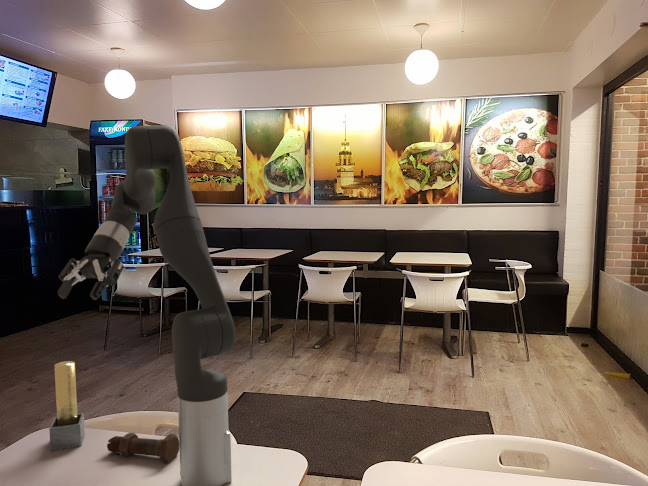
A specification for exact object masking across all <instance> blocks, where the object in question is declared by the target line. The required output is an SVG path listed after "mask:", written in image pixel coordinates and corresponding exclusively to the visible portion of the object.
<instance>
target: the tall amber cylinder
mask: <svg viewBox="0 0 648 486" xmlns="http://www.w3.org/2000/svg"><path fill="white" fill-rule="evenodd" d="M53 365H54V383H55V398H56V399H55V401H56V417H57V422H58V427H59V426H66V425H73V424H78V416H77V414H78V400H77V397H78V396H77V380H76V379H77V378H76V376H77V375H76V362H75V361H73V360H68V361H67V360H65V361H60V362H57V363H55V364H53Z"/></svg>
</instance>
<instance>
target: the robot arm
mask: <svg viewBox="0 0 648 486" xmlns="http://www.w3.org/2000/svg"><path fill="white" fill-rule="evenodd" d="M124 157H125V158H124V162H125V163H124V164H125V178H124V180H122V181H120V182H119V183H118V184H117V185H116V187H115V189H114V193H113V197H112V198H113V199H112V204H111V207H110V210H109V212H108V213H107V215H106V217H105V218H104V221H103V222H102V224H101V225H99V227H98V229H97V230H96V232H94V235H93V236H92V238H91V240H90V241H89V243H88V244H87V246H86V248H85V250H84V257H82V258H81V259H80V260H76V259H75V258H74V257H73V258H70V259H69V260H68V262H67V263H66V265H65V266H64V268H63V269H62V270H61V271H60V273H59V274H58V276H57V277H58V278H59V279H60V280H61V282H62V284H61V285H60V287H59V289H58V290H57V295H58V296H59V297H60V298H61V299H63V300H64V299H67V297H68V296H69V295H70V292H71V290H72V289H73V287H74V285H77V283H78V282H82V281H84V280H86V279H97V280H98V281H96V282H95V284H94V285H93V287H92V289H91V291H90V293H89V296H90V298H91V299H92V301H97V300H98V299H99V298H100V297H101V296H102V294H103V292H104V291H105V289H106V288H108V287H109V285H111V286H115V285H116V284H117V283H118V281H119V278H120V276H121V274H122V272H123V270H124V267H125V265H124V264H123V262H122V261H121V259H119V258H120V256H121V254H122V252H123V250H124V249H125V247H126V245H127V243H128V241H129V238H130V235H131V233H132V232H133V230H134V228H135V226H136V224H137V221H138V218H137V216H136V213H137V214H139V215H146V214H149V213H150V212H151V211H152V210H153V209H154V207H155V205H156V200H157V199H156V198H157V197H156V196H157V195H156V192H155V186H156V180H157V179H156V178H157V177H156V172H154V170H157V169H158V170H159V169H167V170H168V171H169V181H168V185H167V187H166V191H165V193H164V195H163V198H162V200H161V201H160V204H159V206H158V208H157V210H156V213H155V216H154V221H153V227H154V234H155V236H156V240H157V245H158V247H159V248H158V249H159V250H160V251H159V252H160V254H161V256H162V257H163V259H164V260H165V261H166V263H167V264H168V265H169V266H170V267H171V268H172V270H175V272H176V273H177V274H178V275H180V277H182V279H183V280H185V282H187V284H188V285H189V286H190V288H192V289H193V291H194V293H195V295H196V297H197V299H198V301H199V304H200V306H201V308H199V309H192V310H187V311H181V312H179V313H177V314H176V315H175V316H174V319H173V321H172V326H171V340H172V341H171V343H172V351H173V362H174V376H175V381H176V387H177V411H178V412H177V414H178V439H179V469H180V470H179V476H180V485H181V486H224V485H226V484H228V483H232V480H233V479H232V448H231V447H232V446H231V445H232V444H231V442H232V440H231V437H232V436H231V432H230V429H229V405H228V403H229V402H228V400H229V398H228V379H227V376H226V375H225V374H224V373H223V372H220V371H217V370H212V369H206V368H204V369H203V368H202V364H201V360H202V359H207V358H212V357H215V356H221V355H222V354H223V355H224V354H226V353H229V352H231V351H232V350H233V349H234V347H235V345H236V344H235V343H236V328H235V323H234V319H233V317H232V314H231V310H230V308H229V306H228V303H227V300H226V298H225V295H224V292H223V290H222V288H221V285H220V282H219V279H218V277H217V274H216V271H215V268H214V264H213V261H212V258H211V255H210V250H209V248H208V243H207V239H206V235H205V232H204V227H203V224H202V221H201V217H200V215H199V212H198V209H197V205H196V202H195V199H194V195H193V192H192V189H191V184H190V180H189V176H188V171H187V166H186V161H185V155H184V152H183V147H182V143H181V138H180V136H179V134H178V131H177V130H176V128H175V127H173V126H171V125H168V124H167V125H166V124H161V125H160V124H157V125H156V124H155V125H135V126H131V127H130V128H128V129H127V131H126V133H125V137H124ZM134 212H135V213H134ZM79 272H80V274H81V275H80V274H79Z"/></svg>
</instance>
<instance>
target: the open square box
mask: <svg viewBox="0 0 648 486" xmlns="http://www.w3.org/2000/svg"><path fill="white" fill-rule="evenodd" d="M77 416H78V424H73V425H66V426H59V427H58V422H57V416H55V417H53V419H52V422H51V424H50V426H49V429H48V431H49V445H50V446H49V447H50V452H51V451H58V450H64V449H70V448H71V449H72V448H77V447H82V445H83V441H84V438H85V435H86V433H85V432H86V431H85V413H84V412H81V413H77Z"/></svg>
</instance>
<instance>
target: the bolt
mask: <svg viewBox="0 0 648 486" xmlns="http://www.w3.org/2000/svg"><path fill="white" fill-rule="evenodd" d="M106 447H107V451H109V452H111V453H119V454H120V455H121V457H122V458H130V457H133V456H134V455H141V456H153V457H158V458H159V459H160V460H161V461H162V463H163V464H167V465H168V464H170V463H172V462H173V461H174V460H175V459H176V458H177V456H178V455H179V453H180V447H179V436H178V435H176V434H175V433H169V434H168V435H166V436H165V437H164V438H163V439H162V438H161V439H156V438H144V437H143V438H142V437H141V438H140V437H139V436H138V435H137V434H136V433H135V432H128V433H126V434H125V435H123V436H122V435H121V436H118V435H115V436H113V437H111V438H109V439H108V441H107V444H106Z"/></svg>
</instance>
